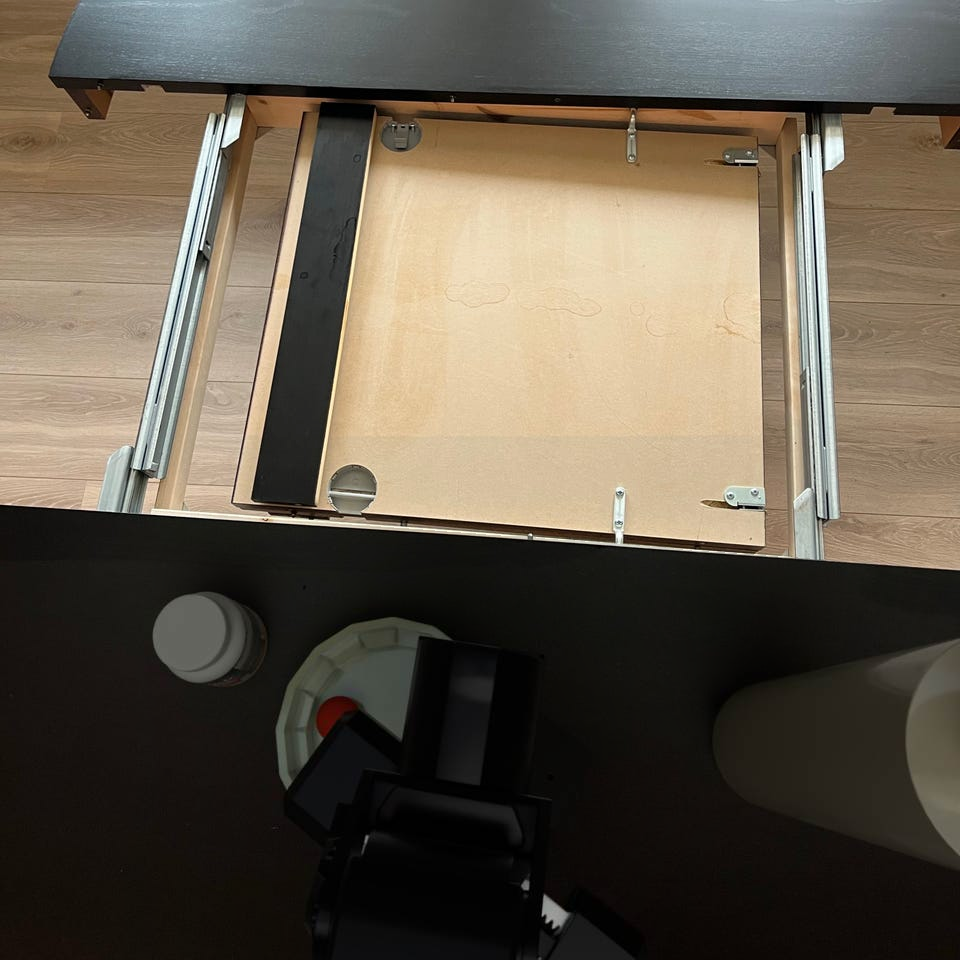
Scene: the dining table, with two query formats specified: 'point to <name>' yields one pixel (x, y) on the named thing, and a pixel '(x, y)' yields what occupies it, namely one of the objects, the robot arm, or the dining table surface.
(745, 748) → the vase
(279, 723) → the bowl
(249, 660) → the pill bottle
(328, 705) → the ball
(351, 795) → the robot arm
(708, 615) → the dining table surface
